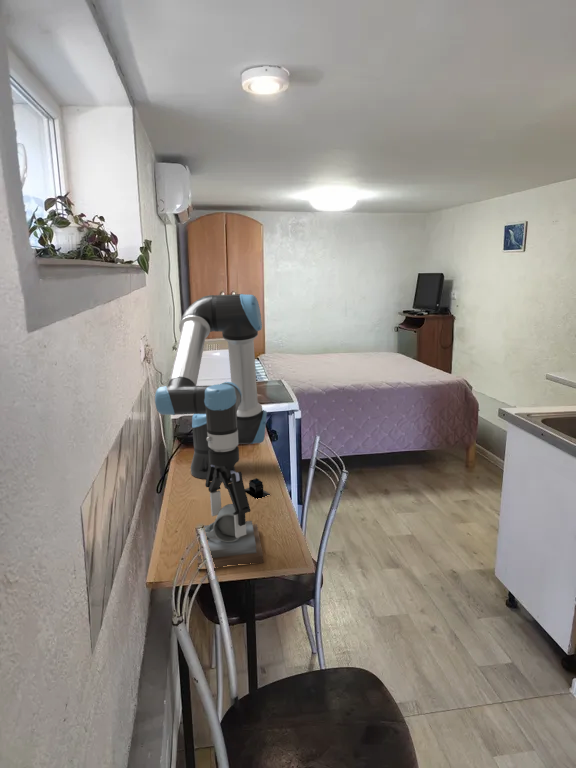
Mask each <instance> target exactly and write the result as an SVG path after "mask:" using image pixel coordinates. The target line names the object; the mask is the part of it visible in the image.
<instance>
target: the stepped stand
mask: <svg viewBox="0 0 576 768" xmlns="http://www.w3.org/2000/svg"><path fill="white" fill-rule="evenodd" d="M209 525H210V524H206V525H203V529H204V528H205V529H206V528H207V527H208V526H209ZM211 531H213V529H212V530H211ZM207 540H208V545H209V548H210V551H211V555H212V558H213V562H214V564H215V567H216V568H215V569H218V568H217V567H223V566H227V565H238V564H249V565H253V564H252V563H258V564H263V563H264V553H263V549H262V544H261V543H262V542H261V539H260V532H259V527H258V523H255V524H254V523H253V520H247V521H246V535H244V536H241V537H240V538H239V539H238V540H236V541H234V542H223V541H221V540H219V539H218V538H217V537H216V536H214V537H211V538H207ZM198 548H199V547H198V546H197V549H198ZM201 563H202V559H201V555H200V556H199V557H198V556H197V568H198V567H199V565H200V564H201ZM250 563H251V564H250ZM223 568H224V567H223Z"/></svg>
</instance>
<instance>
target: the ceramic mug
mask: <svg viewBox="0 0 576 768" xmlns="http://www.w3.org/2000/svg"><path fill="white" fill-rule="evenodd" d="M234 512H236V511H235V508H234V506H233V503H228V504H226V505H223V506H222V507H221V510H220V511H219V513H218V515H216V518H215V520H214V521H213V522H211V523H210V524H208V525H209V526H208V527H207V528H206V529H205V532H206V536H207V538H211V537H214V536H216V537H217V538H218V539H219V540H221V541H223V542H234V541H236V540H238V539H239V538H240V537H238V538H236V537H235V523H234V514H233V513H234ZM212 529H213V531H211V530H212Z"/></svg>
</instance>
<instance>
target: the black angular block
mask: <svg viewBox="0 0 576 768" xmlns="http://www.w3.org/2000/svg"><path fill="white" fill-rule="evenodd" d="M245 492H246V495H249V496H250V497H252V498H253V497H254V498H253V499H254V500H256V498H257V499H258V498H261V499H263V498H262V497H264V498H266V497H265V496H267V495H270V493H269V492H268V491H266V490H264V483H263V481H262V480H260V479H259V478H253V479H249V480H248V487H247V488H245ZM270 496H271V495H270ZM267 497H268V496H267ZM258 500H259V499H258Z"/></svg>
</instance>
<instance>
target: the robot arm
mask: <svg viewBox="0 0 576 768" xmlns="http://www.w3.org/2000/svg"><path fill="white" fill-rule="evenodd" d="M257 298H258V297H256V295H253V294H244V293H239V294H238V293H237V294H236V293H235V294H234V293H233V294H216V295H214V294H209V295H204V296H202V297H200V298H198V299H196V300H195V301H194V302H192V303H191V304H190V305H189V306H188V307H187V308H186V310H185V311H184V313H183V314H182V315H181V318H180V321H179V326H178V328H179V332H180V335H179V339H178V343H177V345H176V351H175V354H174V359H173V364H172V366H171V371H170V374H169V379H168V383H167V385H164V386H159V387H158V388H157V389H156V391H155V395H154V403H155V408H156V411H157V413H159V414H160V415H164V416H166V415H168V416H169V415H171V416H177V415H178V416H179V415H192V417H191V418H192V419H191V427H192V439H193V440H192V441H193V448H194V449H193V451H194V452H193V456H192V461H191V463H190V474H191V475H192V476H193V477H194V478H197V479H203V480H205V487H206V488H208V492H209V498H210V512H211V517H217V515H218V513H219V511H220V510H221V509H222V497H221V496H222V495H221V493H222V492H221V485H222V484H223V486H224V488H225V489H226V490H227V492H228V494H229V497H230V500H231V504H233V506H234V508H235V511H236V512H234V513H233V514H234V523H235V537H236V538H238V537H241V536H244V535H246V514H247V513H250V512H251V507H250V503H249V500H248V496H247V495H248V494H247V493H246V492H245V489H246V488H245V486H244V482H243V473H242V471H236V468H235V466H236V464H237V463H239V460H240V448H239V444H240V445H241V444H243V445H244V444H248V445H249V444H251V445H253V444H261V443H262V442H264V441H265V438H266V437H265V435H266V425H267V410H265V409H263V406H262V404H261V403H259V401H258V391H257V390H258V389H257V387H258V386H257V371H256V356H255V342H254V341H255V339H256V338H257V337H258V336H259V332H260V331H262V330H263V329H262V328H263V323H262V314H261V309H260V305H259V301H258V299H257ZM211 332H215V333H216V332H218V333H219V332H222V334H221V335H222V338H223V339H224V340H225V341H226V342H227V348H228V361H229V373H230V381H225V382H222V383H220V384H219V383H217V384H212V385H198V379H199V373H200V368H201V363H202V357H203V354H204V353H203V352H204V348H205V342H206V339H207V338H208V336H209V335H210V333H211Z"/></svg>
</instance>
